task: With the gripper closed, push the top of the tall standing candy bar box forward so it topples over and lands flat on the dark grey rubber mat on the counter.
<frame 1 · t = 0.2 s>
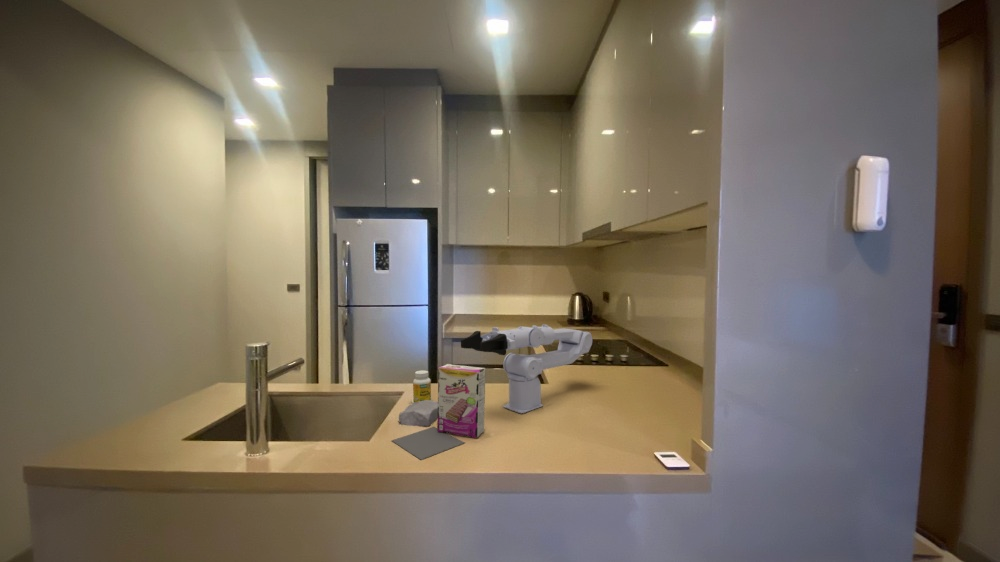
hand: (471, 345, 104), 21 cm above the counter, tool horizontal, fingers open, 7 cm apart
candy bar box: (460, 433, 100), on the counter, touching mat
stone block: (420, 419, 110), on the counter
supplement bottle: (422, 403, 122), on the counter
mat: (428, 442, 95), on the counter
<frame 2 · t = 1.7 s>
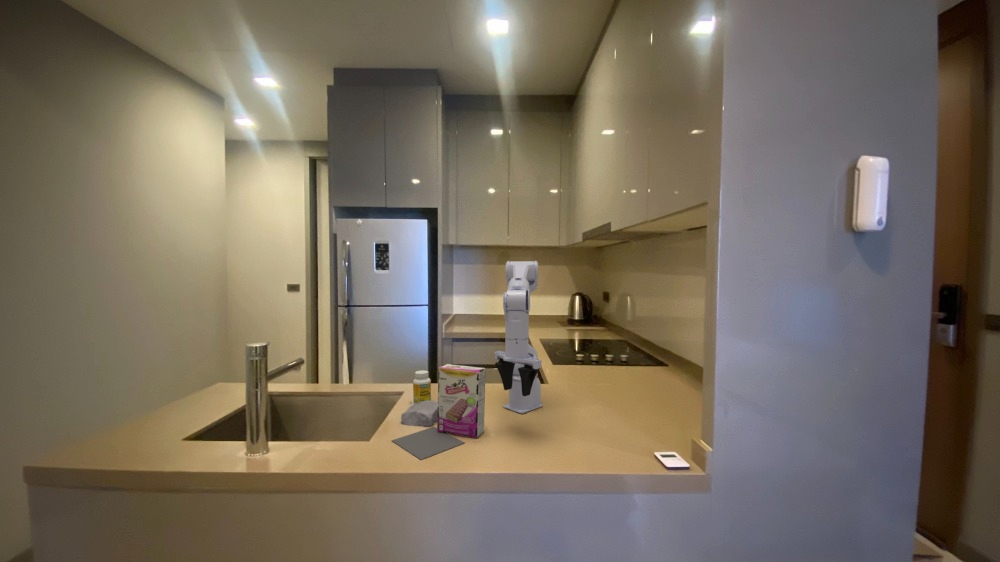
hand: (516, 392, 99), 10 cm above the counter, tool pointing down, fingers open, 6 cm apart
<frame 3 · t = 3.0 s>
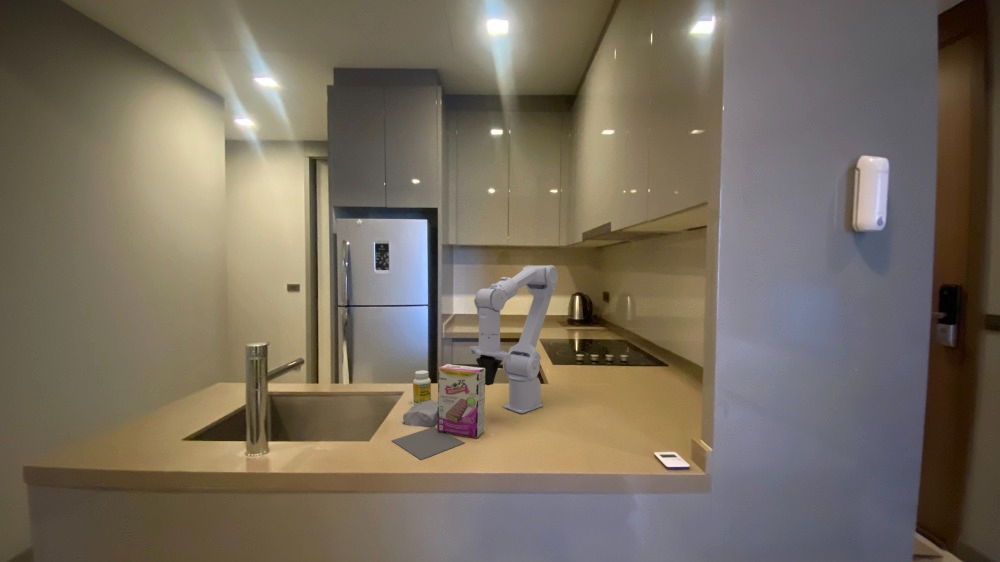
hand: (488, 384, 106), 10 cm above the counter, tool pointing down, fingers closed
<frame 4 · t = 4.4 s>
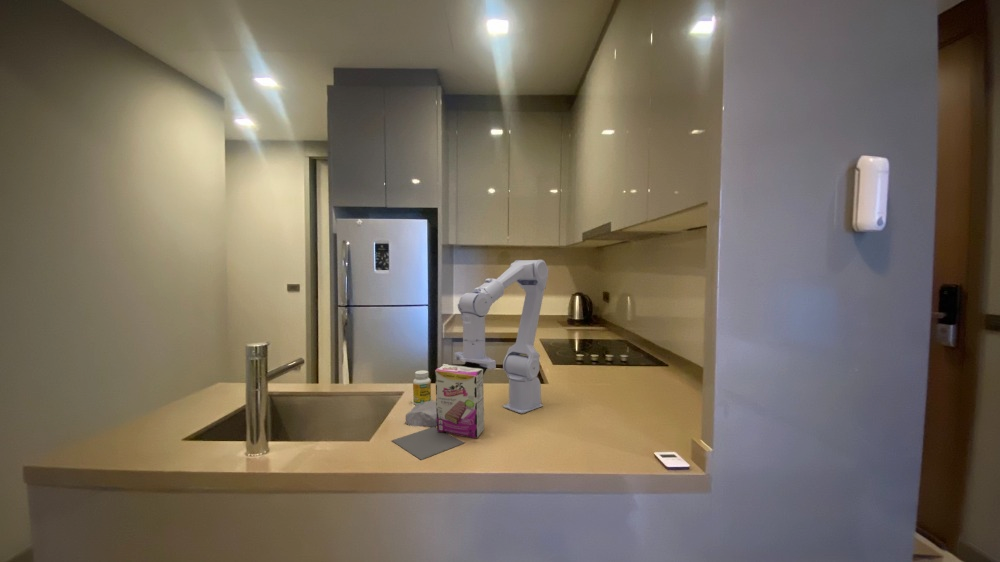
hand: (474, 391, 103), 9 cm above the counter, tool pointing down, fingers closed
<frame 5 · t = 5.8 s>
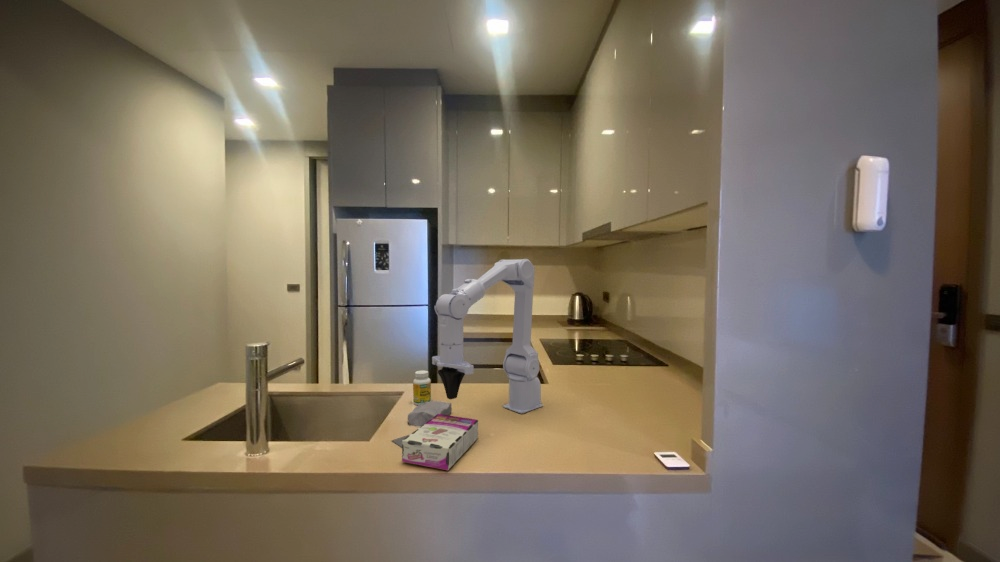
hand: (452, 398, 98), 9 cm above the counter, tool pointing down, fingers closed
candy bar box: (458, 425, 98), point 3 cm above the counter, touching mat
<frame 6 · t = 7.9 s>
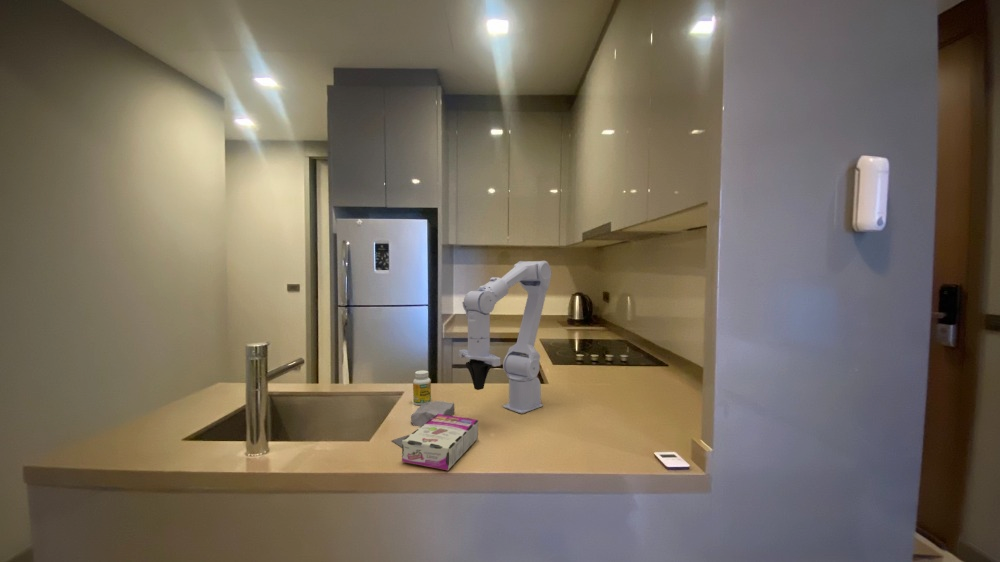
hand: (479, 388, 104), 10 cm above the counter, tool pointing down, fingers closed
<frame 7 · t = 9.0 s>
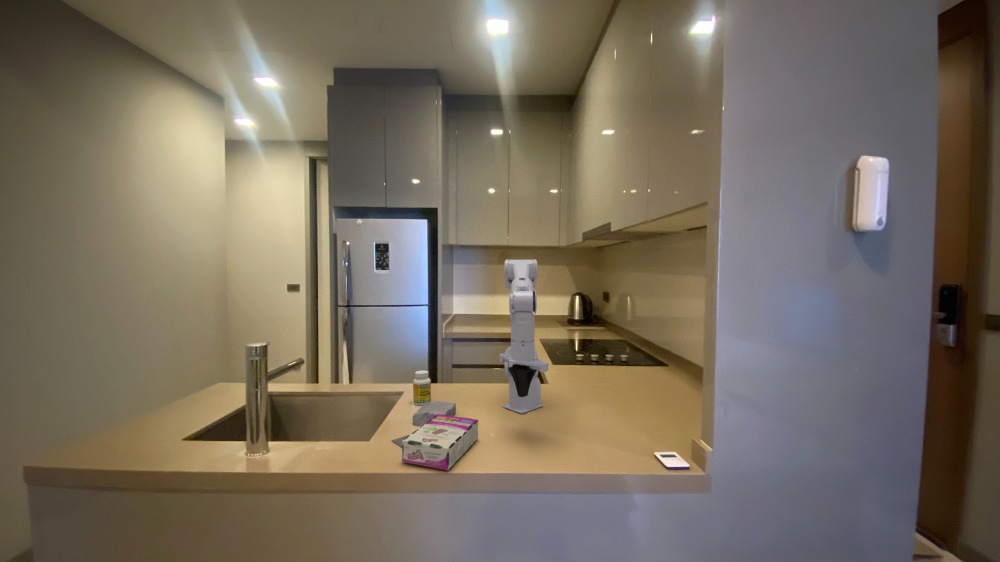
hand: (522, 395, 96), 10 cm above the counter, tool pointing down, fingers closed
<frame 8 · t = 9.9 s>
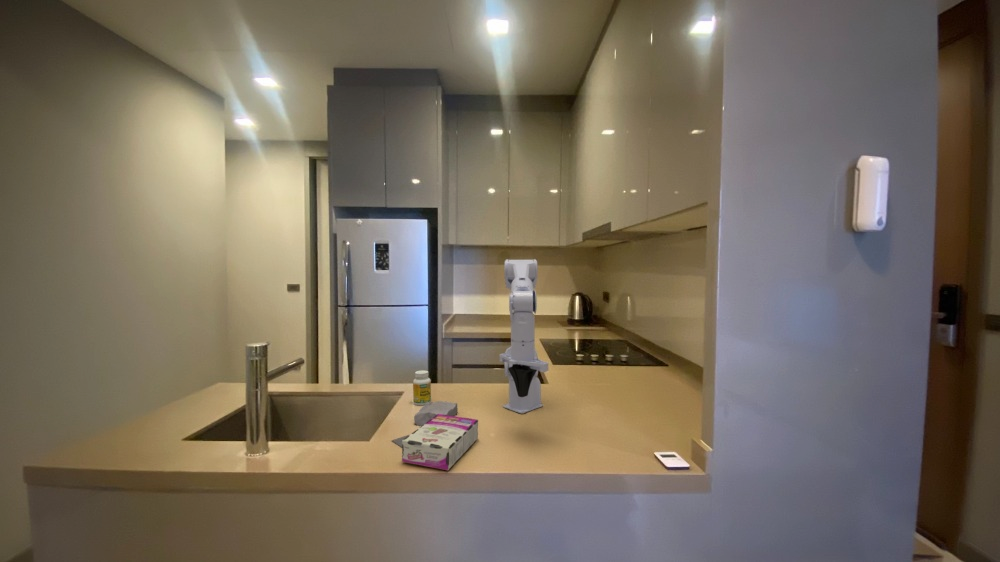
hand: (522, 395, 96), 10 cm above the counter, tool pointing down, fingers closed
at the end: candy bar box tilted 89°; candy bar box inside the target area (7.4 cm from its centre), point 2.6 cm above the counter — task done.
